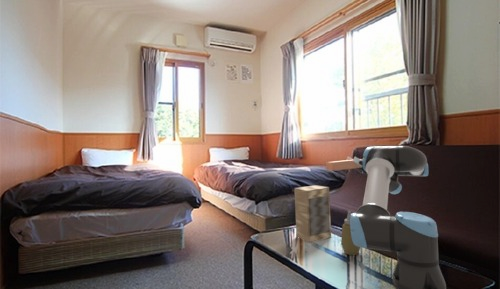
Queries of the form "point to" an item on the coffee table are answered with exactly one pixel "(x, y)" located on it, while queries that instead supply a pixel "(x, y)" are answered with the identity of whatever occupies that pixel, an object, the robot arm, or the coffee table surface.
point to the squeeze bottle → (348, 238)
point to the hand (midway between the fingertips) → (350, 158)
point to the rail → (341, 165)
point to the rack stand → (312, 213)
